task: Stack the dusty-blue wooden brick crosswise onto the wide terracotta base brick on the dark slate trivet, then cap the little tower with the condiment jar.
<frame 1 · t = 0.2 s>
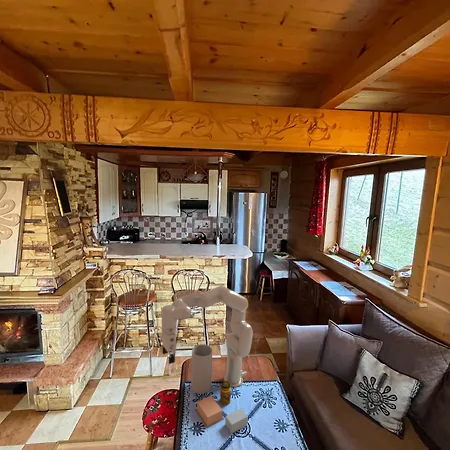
hand: (168, 357, 146), 31 cm above the table, fingers open, 9 cm apart
trivet: (209, 415, 147), on the table
condiment: (223, 402, 157), on the table
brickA: (209, 414, 147), point 1 cm above the table, touching trivet
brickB: (236, 426, 141), on the table
cylinder vase: (201, 387, 168), on the table
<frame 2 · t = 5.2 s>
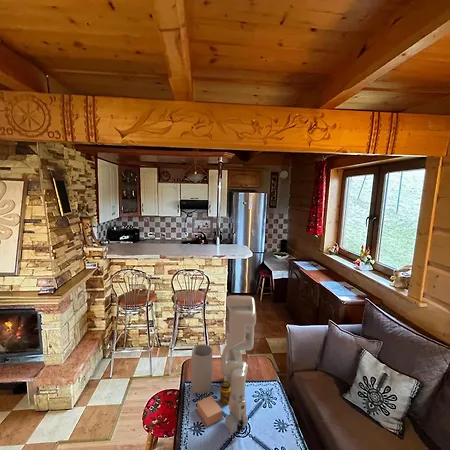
hand: (236, 424, 141), 1 cm above the table, fingers closed on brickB, 6 cm apart
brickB: (236, 426, 141), on the table, touching gripper
everything else where it was.
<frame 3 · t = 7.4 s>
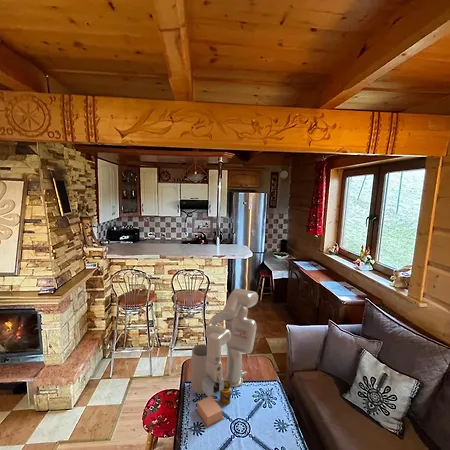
hand: (213, 387, 144), 17 cm above the table, fingers closed on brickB, 6 cm apart
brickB: (212, 389, 144), point 17 cm above the table, touching gripper
everything else where it was.
when the fingers open (8 cm above the table, at t = 10.1 s): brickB stays where it is, resting on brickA.
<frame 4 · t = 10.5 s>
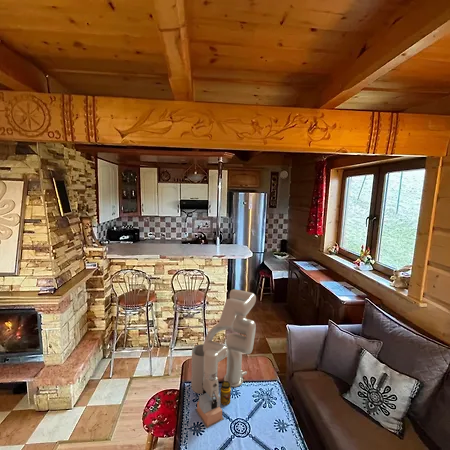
hand: (209, 401, 146), 8 cm above the table, fingers open, 9 cm apart
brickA: (209, 414, 147), point 1 cm above the table, touching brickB, trivet
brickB: (209, 405, 146), point 6 cm above the table, touching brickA
everything else where it was.
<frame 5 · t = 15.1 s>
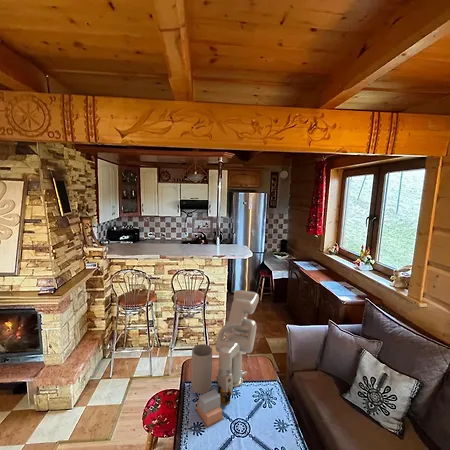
hand: (224, 396, 156), 3 cm above the table, fingers open, 7 cm apart
condiment: (223, 402, 157), on the table, touching gripper
everything else where it was.
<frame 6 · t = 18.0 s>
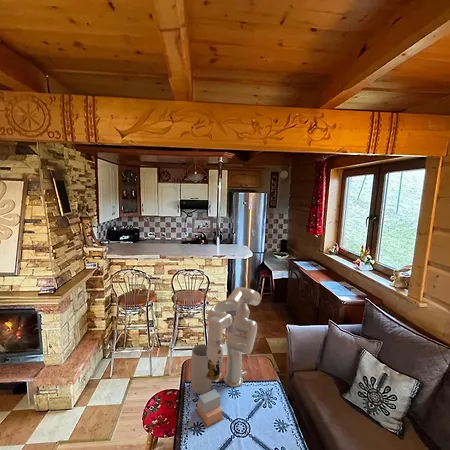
hand: (213, 371, 145), 25 cm above the table, fingers closed on condiment, 6 cm apart
condiment: (212, 376, 146), point 22 cm above the table, touching gripper
everything else where it was.
when the fingers open (16 cm above the table, at t = 20.9 s): condiment stays where it is, resting on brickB.
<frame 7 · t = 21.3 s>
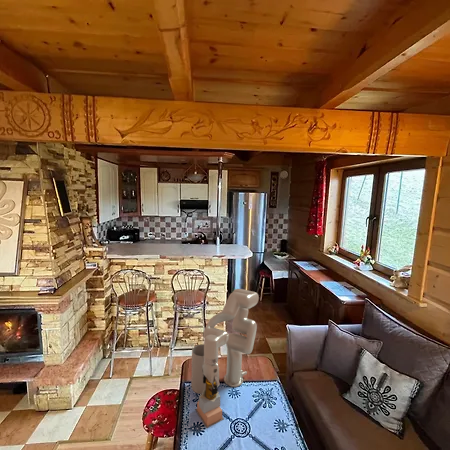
hand: (210, 387, 145), 17 cm above the table, fingers open, 9 cm apart
condiment: (209, 395, 146), point 12 cm above the table, touching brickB
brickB: (209, 406, 146), point 6 cm above the table, touching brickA, condiment
everything else where it was.
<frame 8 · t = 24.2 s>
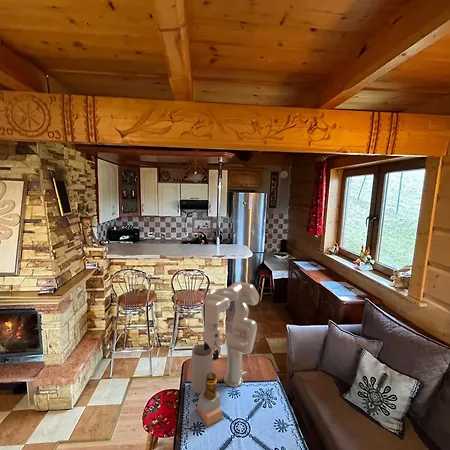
hand: (211, 354, 142), 36 cm above the table, fingers open, 9 cm apart
nothing on the table moved.
at the end: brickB 0.0 cm off-centre on the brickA, point 5.0 cm above the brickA's base; condiment 0.8 cm from the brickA (horizontally); condiment point 11.6 cm above the table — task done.
